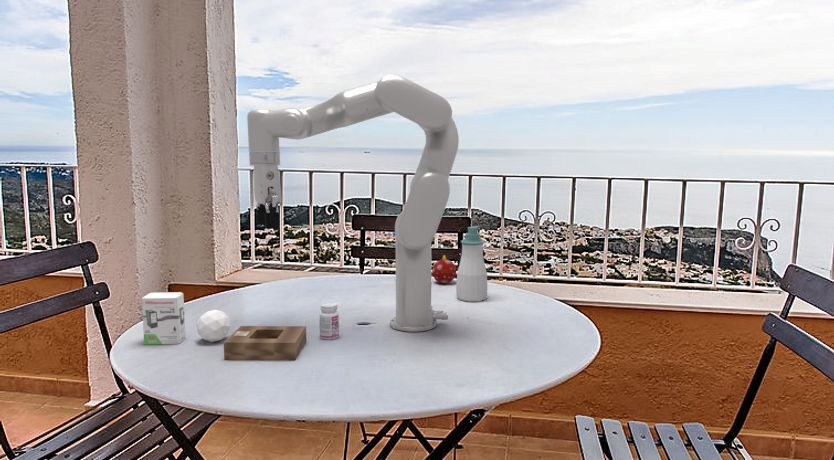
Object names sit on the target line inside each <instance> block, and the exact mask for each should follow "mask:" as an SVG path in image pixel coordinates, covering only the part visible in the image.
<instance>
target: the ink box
mask: <svg viewBox="0 0 834 460" xmlns="http://www.w3.org/2000/svg"><path fill="white" fill-rule="evenodd" d="M141 307H142V310H141V311H142V326H143V345H179V344H181V342H183V341H184V340H185V339H186V318H185V300H184V292H181V291H179V292H174V291H173V292H171V291H170V292H150V293H148V294H146V295H145V296H143V297H141Z"/></svg>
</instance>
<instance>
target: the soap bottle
mask: <svg viewBox="0 0 834 460" xmlns="http://www.w3.org/2000/svg"><path fill="white" fill-rule="evenodd" d="M480 227H481V226H480V225H475V226H468V227H467V232H466V233H465V237H464V238H463V239H462V240H460V243H461V256H460V260H459V264H458V265H459V266H458V269H457V271H456V287H455V288H456V294H455V296H456V297H457V299H458V300H460V301H463V302H470V303H474V302H475V303H476V302H482V300H483V301H485V300H486V299H487V297H488V273H487V268H486V264H485V260H484V251H483V250H484V243H485V241H484V240H483V239H481V235H480V233H479V232H478V229H480Z"/></svg>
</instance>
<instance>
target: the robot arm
mask: <svg viewBox="0 0 834 460" xmlns="http://www.w3.org/2000/svg"><path fill="white" fill-rule="evenodd" d="M392 113H396V114H397V115H399V116H401V117H403V118H405V119H407V120H409V121H410V122H413V123H415V124H417V125H418V126H419V128H421V129H422V130H423V132H424V135H425V145H424V147H423V151H422V154H421V157H420V160H419V162H418V166H417V168H416V170H415V172H414V175H413V177H412V179H411V181H410V185H409V194H408V197H407V200H406V202H405V205H404V207H403V210H402V211H401V212H400V213H399V214H398V215H397V217H396V220H395V223H394V236H395V237H394V241H395V316H394V317H392V318H391V319H390V320H389V324H390V327H391V328H393V329H395V330H397V331H401V332H414V333H415V332H425V331H430V330H432V329H435V328H436V327H437V324H438V321H437V320H442V321H444V320H445V321H448V320H449V312H444V311H443V310H435V309H433V305H432V268H433V267H432V265H433V264H432V262H433V260H432V257H433V255H432V241H433V240H434V238H435V236H436V234H437V231H438V228H439V227H440V226H439V225H440V224H441V221H442V217H443V216H444V212H445V210H446V206H447V205H448V201H449V197H450V194H451V193H450V190H451V187H450V182H449V178H450V176H451V175H450V174H451V172H452V170H453V166H454V163H455V161H456V158H457V153H458V149H459V143H460V142H459V132H458V128H457V125H456V122H455V121H454V119H453V110H452V106H451V104H450V103H449V101H448V100H446V99H445V98H444V97H443V96H442V95H439V94H437V93H435V92H434V91H432V90H429V89H428V88H425V87H423V86H421V85H419V84H418V83H416V82H414V81H412V80H410V79H408V78H406V77H404V76H402V75H400V74H396V73H389V74H386V75H384V76H383V77H381V78H380V79H379V80H376V81H374V82H370V83H367V84H364V85H361V86H358V87H354V88H350V89H346V90H343V91H341V92H339V93H337V94H336V95H334V96H333V97H331V98H330V99H328V100H325V101H323V102H321V103H318V104H315V105H313V106H312V105H311V106H307V107H305V108H302V109H301V108H300V109H297V108H292V107H291V108H283V109H277V110H271V109H252V110H250V111H248V113H247V114H246V115H247V117H246V118H247V119H246V120H247V122H246V123H247V136H248V137H247V138H248V139H247V140H248V155H249V156H248V157H249V159H248V160H249V166H252V167H253V191H254V192H253V193H254V195H253V196H254V200H255V202H256V206H255V207H256V225H259V226H260V225H265V229H267V230H273V229H274V230H275V229H279V228H280V218H279V213H280V212H279V207H278V206H279V205H281V203H282V199H283V198H282V188H281V179H280V171H279V166H281V155H280V139H281V138H283V139H287V140H289V139H290V140H297V141H299V140H304V139H308V138H310V137H315V136H316V135H321V134H323V133H327V132H330V131H333V130H336V129H341V128H345V127H349V126H352V125H355V124H358V123H362V122H364V121H369V120H372V119H375V118H378V117H383V116H385V115H389V114H392Z"/></svg>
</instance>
